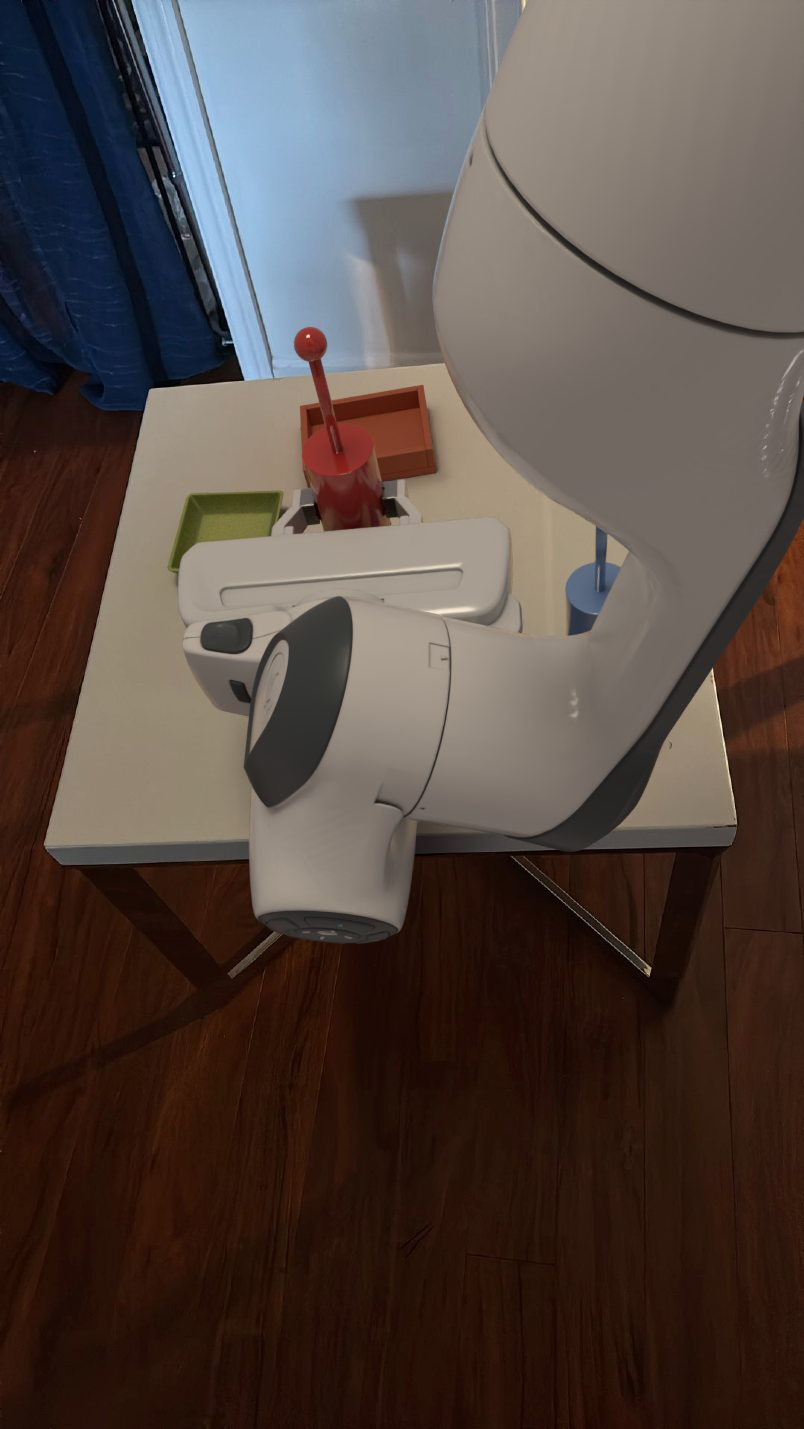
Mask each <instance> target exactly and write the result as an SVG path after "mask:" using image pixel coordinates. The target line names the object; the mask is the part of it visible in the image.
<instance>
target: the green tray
mask: <svg viewBox="0 0 804 1429" xmlns="http://www.w3.org/2000/svg"><path fill="white" fill-rule="evenodd" d="M283 499H284V491H283V490H254V491H253V490H252V491H229V492H227V491H226V492H225V491H224V492H192V493H191V492H190V493H189V494H188V495H186V498H185V501H184V505H183V509H182V513H181V515H180V520H179V525H178V527H177V531H176V534H175V537H174V538H175V539H174V542H173V545H172V549H171V552H170V556H169V560H168V564H167V571H168V572H170V573H173V574H178V575H179V568H180V562H181V558H182V556H183V555H184V554H185V553H186V552H187V551H188V550H189V549H190V548H191V547H192V546H194V545H195V544H197V543H200V542H212V541H223V540H234V539H246V538H257V537H268V536H271V534H272V527H273V526H274V525H275V524H276V522H277V521H278V520H279V519H280V513H281V509H282V503H283Z"/></svg>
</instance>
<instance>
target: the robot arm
mask: <svg viewBox="0 0 804 1429" xmlns="http://www.w3.org/2000/svg"><path fill="white" fill-rule="evenodd" d="M451 197H452V198H451V201H450V204H449V208H448V211H447V215H446V219H445V223H444V227H443V232H442V234H441V235H442V236H441V240H440V244H439V248H438V249H439V250H438V253H437V258H436V263H435V268H434V273H433V274H434V275H433V281H432V296H431V297H432V298H431V299H432V307H433V308H432V309H433V317H434V326H435V331H436V336H437V339H438V340H437V341H438V344H439V347H440V352H441V355H442V358H443V362H444V365H445V367H446V370H447V373H448V376H449V377H450V380H451V382H452V384H453V386H454V388H455V391H456V393H457V395H458V396H459V398H460V400H461V402H462V404H463V406H464V408H465V409H466V411H467V413H468V415H469V416H470V417H471V419H472V421H473V422H474V424H475V425H476V427H477V429H478V430H479V431H480V432H481V434H482V436H484V438H485V439H486V440H487V442H488V443H489V444H490V445H491V447H492V448H493V449H494V450H495V452H497V454H498V455H499V456H500V457H501V458H502V459H503V461H505V462H506V464H508V465H509V466H510V468H511V469H512V470H514V471H515V473H516V474H518V475H519V476H520V477H521V478H523V480H524V481H525V482H527V483H528V484H529V485H530V486H531V487H533V488H534V489H535V490H536V491H538V492H540V494H542V495H543V496H545V497H546V498H548V499H549V500H551V501H553V502H554V503H556V504H558V505H560V506H561V507H562V508H565V509H566V510H568V511H570V512H571V513H574V514H575V515H577V516H579V517H580V518H581V519H584V520H585V521H586V522H589V523H591V524H592V525H593V526H595V527H596V526H597V527H598V528H600V529H601V530H602V531H604V532H605V533H607V536H608V535H609V537H611V538H612V539H613V540H615V541H616V542H617V543H619V544H620V545H621V546H623V548H625V549H626V550H628V552H627V554H626V556H625V558H624V560H623V562H622V564H621V566H620V567H621V568H620V571H619V573H618V575H617V577H616V579H615V581H614V583H613V585H612V587H611V589H610V591H609V594H608V596H607V598H606V600H605V602H604V604H603V606H602V608H601V610H600V612H599V614H598V616H597V619H596V621H595V623H594V625H593V627H592V629H591V630H590V631H588V632H585V633H582V634H577V635H571V636H566V635H562V636H561V635H560V636H559V635H558V636H545V635H533V634H527V633H523V629H524V627H523V626H524V625H523V610H522V606H521V603H520V602H519V600H518V599H517V598H516V596H514V595H513V594H512V593H513V582H514V580H513V579H514V578H513V577H514V557H513V541H512V533H511V529H510V526H508V525H507V524H506V523H505V522H503V521H502V520H500V518H498V517H496V516H483V517H482V516H481V517H472V518H460V519H448V520H437V521H428V522H424V518H423V513H422V512H421V511H420V510H419V509H418V508H417V506H416V505H415V504H414V503H413V502H412V501H411V500H410V499H409V498H410V497H409V496H410V495H409V489H408V485H407V480H406V478H401V479H394V480H387V481H382V484H383V489H384V490H383V492H382V501H383V506H384V507H385V514H386V518H390V519H394V518H398V519H399V523H398V524H393V525H392V524H391V526H380V527H369V528H358V529H347V530H335V531H324V530H323V531H317V532H316V531H314V532H305V531H306V529H307V528H308V526H315V525H316V526H317V525H321V520H320V517H319V513H318V510H317V507H316V503H315V500H314V496H313V493H312V490H311V488H308V487H307V488H298V489H297V488H296V489H293V492H292V499H291V506H290V507H289V508H288V509H287V510H286V511H285V512H284V513H283V515H281V517H279V519H278V521H277V522H276V524H275V525H274V526H273V527H272V534H271V536H268V537H257V538H246V539H234V540H223V541H212V542H200V543H197V544H195V545H194V546H192V547H191V548H190V549H189V550H188V551H187V552H186V553H185V554H184V555H183V556H182V558H181V562H180V568H179V574H178V576H177V608H178V609H177V610H178V613H179V617H180V619H181V621H182V623H183V625H184V627H185V630H184V632H183V636H182V641H181V647H182V650H183V654H184V658H185V660H186V663H187V665H188V667H189V669H190V671H191V674H192V675H193V678H194V680H195V682H196V683H197V684H198V686H199V687H200V689H201V691H202V692H203V694H204V695H205V696H206V698H207V699H208V700H209V702H210V703H211V704H212V706H213V707H214V708H215V709H217V710H219V711H222V712H225V713H229V714H234V715H239V716H243V717H248V722H247V732H246V740H245V748H244V750H245V751H244V758H243V769H244V770H243V771H245V774H246V776H247V778H248V781H249V783H250V785H251V786H250V788H251V789H250V800H249V817H248V822H249V823H248V866H249V884H250V895H251V905H252V911H253V914H254V918H256V920H257V921H258V922H259V923H261V924H262V925H263V926H265V927H267V929H269V930H270V931H272V932H274V933H277V934H280V935H284V936H287V937H289V938H293V939H299V940H305V941H306V940H307V941H313V942H322V943H329V944H330V943H331V944H340V945H343V944H357V945H358V944H361V945H362V944H369V943H374V942H379V941H383V940H386V939H387V938H389V937H391V936H394V935H396V934H398V933H399V932H400V931H401V930H402V928H403V926H404V922H405V919H406V916H407V910H408V905H409V899H410V894H411V885H412V879H413V871H414V863H415V854H416V844H417V843H416V842H417V831H418V830H417V829H418V822H419V823H426V824H434V825H439V826H446V827H451V828H452V827H453V828H458V829H465V830H471V831H476V832H477V831H478V832H484V833H489V834H495V835H502V836H504V837H506V838H508V839H512V840H516V841H521V842H524V843H528V844H533V845H537V846H541V847H545V848H549V849H553V850H556V851H560V852H565V853H574V852H579V851H582V850H585V849H586V848H588V847H590V846H592V845H594V844H595V843H597V842H598V841H600V840H602V839H603V838H605V837H606V836H607V835H609V834H610V833H611V832H612V831H614V830H616V828H617V827H618V826H619V825H621V824H622V823H623V822H624V821H625V820H626V819H627V818H628V817H629V816H630V814H631V813H632V812H633V811H634V810H635V808H636V807H637V805H638V804H639V802H640V800H641V799H642V797H643V795H644V793H645V790H646V788H647V786H648V784H649V781H650V779H651V776H652V774H653V771H654V769H655V767H656V763H657V760H658V758H659V755H660V754H661V750H662V748H663V745H664V743H665V741H666V739H667V738H668V736H669V735H670V733H671V731H673V729H674V727H675V725H676V724H677V722H678V721H679V720H680V718H681V717H682V715H683V714H684V712H685V711H686V709H687V707H689V705H690V703H691V701H692V700H693V699H694V697H695V695H696V694H697V693H698V691H699V690H700V688H701V686H702V685H703V684H704V682H705V680H706V679H707V678H708V676H709V675H710V674H711V672H712V670H713V669H714V667H715V666H716V664H717V663H718V661H719V660H720V658H721V657H722V655H723V654H724V652H725V651H726V649H727V648H728V646H729V644H730V643H731V642H732V640H733V639H734V637H735V636H736V634H737V633H738V631H739V629H740V628H741V627H742V626H743V624H744V622H745V621H746V619H747V618H748V617H749V614H750V613H751V612H752V610H753V608H754V607H755V605H756V604H757V602H758V601H759V599H760V597H761V596H762V594H763V593H764V591H765V589H766V588H767V586H768V585H769V583H770V581H771V580H772V579H773V577H774V575H775V573H776V571H777V570H778V568H779V566H780V565H781V563H782V561H783V559H784V558H785V556H786V554H787V552H788V551H789V548H790V547H791V545H792V543H793V541H794V540H795V537H796V535H797V533H798V531H799V529H800V527H801V525H802V522H803V521H804V400H803V399H804V0H526V3H525V5H524V7H523V9H522V12H521V13H520V17H519V18H518V20H517V23H516V25H515V27H514V29H513V31H512V35H511V37H510V39H509V42H508V45H507V47H506V49H505V52H504V54H503V56H502V59H501V62H500V64H499V67H498V69H497V72H496V73H495V76H494V78H493V81H492V83H491V86H490V89H489V92H488V94H487V96H486V101H485V103H484V105H483V107H482V110H481V112H480V114H479V117H478V120H477V123H476V125H475V129H474V131H473V133H472V135H471V139H470V142H469V145H468V147H467V150H466V153H465V155H464V159H463V162H462V164H461V167H460V170H459V174H458V176H457V181H456V183H455V187H454V190H453V193H452V196H451Z"/></svg>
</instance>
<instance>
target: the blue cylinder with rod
mask: <svg viewBox="0 0 804 1429" xmlns="http://www.w3.org/2000/svg"><path fill="white" fill-rule="evenodd" d="M594 543H595V544H594V545H595V546H594V547H595V548H594V562H589V563H586V564H584V565H581V566H580V567H579V566H578V567H577V569H575V570H574V571H573V572H571V574H570V575H569V577H568V578H567V580H566V582H565V589H564V590H565V592H564V593H565V594H564V596H565V598H564V599H565V636H571V635H577V634H582V633H585V632H588V631H590V630H591V629H592V627H593V625H594V623H595V621H596V619H597V616H598V614H599V612H600V610H601V608H602V606H603V604H604V602H605V600H606V598H607V596H608V594H609V591H610V589H611V587H612V585H613V583H614V581H615V579H616V577H617V575H618V573H619V571H620V568H621V566H619V565H617V564H616V563H615V564H614V563H612V562H607V558H608V555H607V554H608V553H607V552H608V534H607V533H605V532H604V531H602V530H601V529H600V528H598V527H597V526H595V542H594Z"/></svg>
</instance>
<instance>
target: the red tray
mask: <svg viewBox="0 0 804 1429" xmlns="http://www.w3.org/2000/svg"><path fill="white" fill-rule="evenodd" d="M331 401H332V405H333V409H334V413H335V417H336V421H337V424H352V425H356V426H359V427H361V428H363V429H365V430H366V431H367V432H368V433H369V434H370V435H371V437H372V439H373V443H374V447H375V452H376V456H377V461H378V466H379V470H380V475H381V479H382V482H383V481H393V480H401V479H406V478H411V477H417V476H423V475H429V474H434V473H435V474H436V473H437V467H436V460H435V454H434V446H433V440H432V433H431V427H430V426H431V425H430V420H429V412H428V407H427V399H426V392H425V386H424V384H418V385H413V386H408V387H400V388H396V389H391V390H390V389H389V390H384V391H383V390H382V391H378V392H372V393H366V394H361V395H354V396H349V397H342V398H338V399H337V398H336V399H331ZM299 418H300V440H301V451H302V450H303V447H304V445H305V443H306V442H307V440H308V439H309V438H310V437H311V436H312V435H313V434H314V433H316V432H317V431H319V430H321V429H323V428H325V427H326V426H325V423H324V419H323V415H322V411H321V407H320V404H319V402H314V403H308V404H303V405H302V404H301V405H299ZM301 460H302V459H301ZM302 472H303V475H304V479H305V482H306V486H307V489H308V488H311V486H310V483H309V480H308V476H307V473H306V470H305V466H304V463H303V460H302Z"/></svg>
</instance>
